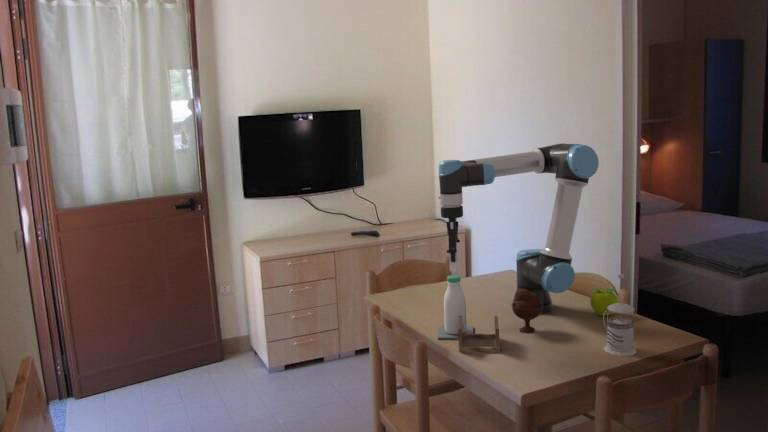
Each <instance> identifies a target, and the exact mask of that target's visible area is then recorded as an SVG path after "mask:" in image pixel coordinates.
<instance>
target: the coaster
mask: <svg viewBox="0 0 768 432" xmlns="http://www.w3.org/2000/svg"><path fill="white" fill-rule="evenodd" d="M466 327H467V330H466V332H465V333H463V334H474V325H466ZM444 340H445V341H446V340H448V341H451V340H452V341H456V340H457V341H459V336H458V334H448V333H446V332H445V327H444V325H439V327H438V336H437V341H444ZM464 340H467V341H472V340H474V339H473V337H463V341H464Z"/></svg>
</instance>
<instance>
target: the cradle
mask: <svg viewBox="0 0 768 432" xmlns="http://www.w3.org/2000/svg"><path fill="white" fill-rule="evenodd" d="M458 336H459V340H458V353H486V354H487V353H489V352H490V353H493V352H494V353H495V352H500V327H499V317H498V315H494V333H473V334H463V329H462V316H459V325H458ZM463 337H473V340H494V343H495V346H463V343H464V342H463V341H464V340H463ZM495 354H496V353H495Z"/></svg>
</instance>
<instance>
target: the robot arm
mask: <svg viewBox="0 0 768 432" xmlns="http://www.w3.org/2000/svg"><path fill="white" fill-rule="evenodd" d="M599 162H600V161H599V157H598V154H597V152H596V151H595V149H593V147H591V146H589V145H586V144H582V143H581V144H580V143H564V142H563V143H556V144H550V145H547V146H543V147H536V148H534V149H532V151H526V152H519V153H513V154H506V155H505V154H504V155H498V156H497V155H496V156H490V157H482V158H475V159H469V160H460V159H446V160H441V161H440V162H439V164H438V180H439V195H440V196H438V200H440V205H441V207H440V216H441V218H443V219H448V221H446V229H447V231H446V233H447V235H448V249H447V250H446V253H447V254H448V259H449V260H448V261H449V272H459V268H458V267H459V265H458V262H459V261H460V259H459V257H460V256H459V254H460V253H459V243H460V241H461V240H460V239H459V237H458V234H459V233H458V231H459V221H457V219H458V218H462V217H463V216H464V207H463V204H464V203H463V202H464V201H463V200H464V198H463V188H466V187H467V188H468V187H474V186H477V187H478V186H486V185H491V184H493V183H494V181H495V178H499V177H506V176H512V175H513V176H514V175H520V174H525V173H535V174H555V177H554V179H555V181H556V182H557V188H556V195H555V199H554V204H553V208H552V214H551V218H550V224H549V227H548V233H547V236H546V243H545V245H544V246H545V247H544V248H533V249H532V248H531V249H524V250H519V251H517V253H516V259H515V262H516V263H515V264H516V290H515V293H516V292H517V291H518V290H520V289H525V290H528V291H529V292H531V293H534V294H536V295H537V296H538V298H539V300H540V303H542V304H543V310H542V312H541V314H542V313H547V312H550V311H551V310H553V300H552V297H551V295H550V293H554V294H561V293H565V292H566V291H567V290H568V289H570V288H571V287H572V285H573V283H574V282H575V277H576V272H575V270H574V267H573V266H572V260H573V257H572V255H571V254H570V250H571V245H572V241H573V234H574V231H575V225H576V222H577V221H576V220H577V216H578V212H579V206H580V201H581V197H582V192H583V188H585V187H586V186H588V184H589V181H590V178H591V177H593V176H594V175H595V174H596V173H597V171H598V168H599V164H600V163H599ZM514 302H516V300H515V295H514V297H513V300H512V303H514Z"/></svg>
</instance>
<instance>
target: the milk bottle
mask: <svg viewBox="0 0 768 432" xmlns="http://www.w3.org/2000/svg"><path fill="white" fill-rule="evenodd" d="M446 281H447V288H446V290H445V293H444V295H443V321H444V322H443V323H444V325H443V326H444V327H445V332H446V333H448V334H458V325H459V316H462V329H463V333H465V332H466V330H467V327H466V326H467V304H466V302H467V301H466V297H465V294H464V291H463V290H462V287H461V276H460V275H459V274H458V275H457V274H451V275H447V277H446Z"/></svg>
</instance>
